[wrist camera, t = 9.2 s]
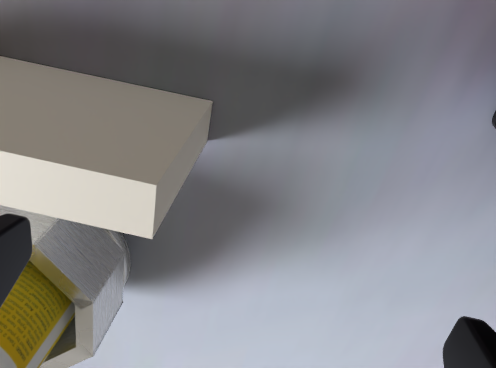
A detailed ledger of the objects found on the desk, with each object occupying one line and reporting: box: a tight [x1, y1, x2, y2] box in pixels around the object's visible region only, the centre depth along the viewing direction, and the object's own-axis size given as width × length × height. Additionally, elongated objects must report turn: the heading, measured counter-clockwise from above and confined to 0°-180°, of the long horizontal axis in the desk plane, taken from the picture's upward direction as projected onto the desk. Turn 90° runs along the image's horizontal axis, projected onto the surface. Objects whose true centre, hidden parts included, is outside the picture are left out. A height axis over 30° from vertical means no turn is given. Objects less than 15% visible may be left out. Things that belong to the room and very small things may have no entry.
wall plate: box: [0, 56, 213, 239], centre depth 17 cm, size 14×2×8 cm, turn 80°
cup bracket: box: [0, 205, 131, 368], centre depth 21 cm, size 8×11×4 cm
